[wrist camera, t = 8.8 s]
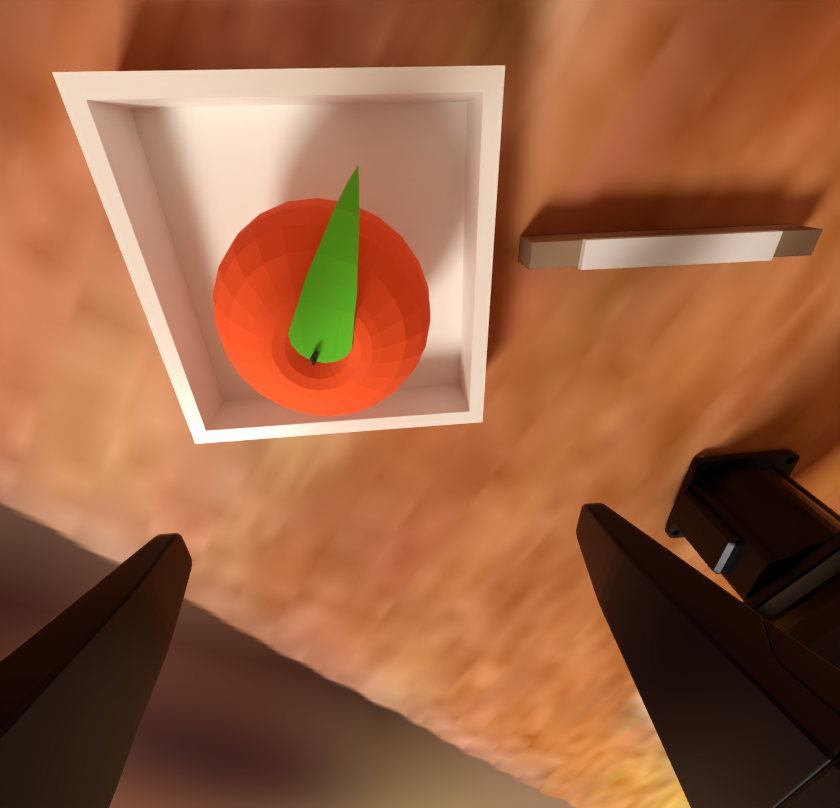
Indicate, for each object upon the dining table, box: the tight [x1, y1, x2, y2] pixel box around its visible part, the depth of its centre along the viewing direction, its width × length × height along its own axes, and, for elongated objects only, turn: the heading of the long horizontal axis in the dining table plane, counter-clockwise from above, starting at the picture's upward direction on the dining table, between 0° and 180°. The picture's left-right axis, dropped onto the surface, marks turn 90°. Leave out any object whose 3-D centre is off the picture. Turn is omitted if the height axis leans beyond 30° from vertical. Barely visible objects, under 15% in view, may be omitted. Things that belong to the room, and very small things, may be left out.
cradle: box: [518, 224, 823, 270], centre depth 14 cm, size 12×12×2 cm
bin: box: [52, 65, 505, 444], centre depth 16 cm, size 12×12×3 cm
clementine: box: [213, 166, 431, 416], centre depth 13 cm, size 8×7×7 cm
